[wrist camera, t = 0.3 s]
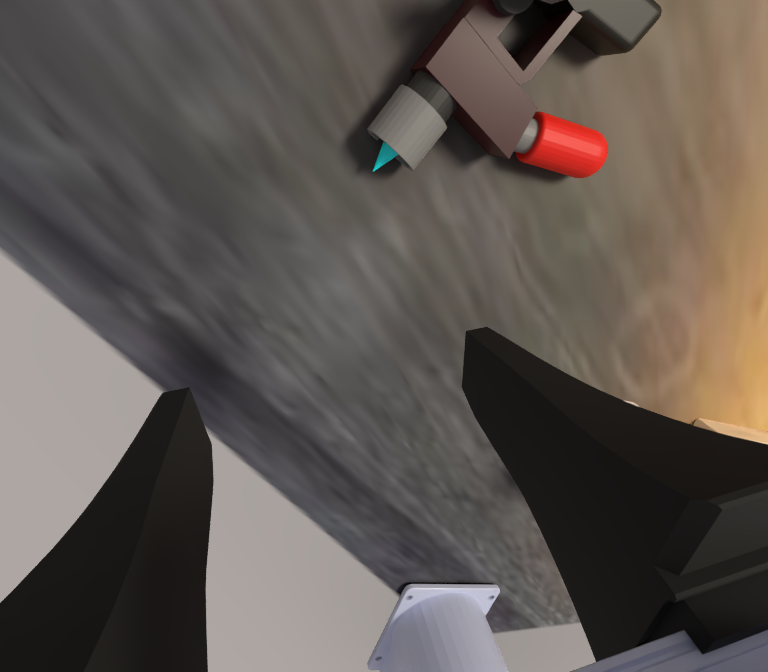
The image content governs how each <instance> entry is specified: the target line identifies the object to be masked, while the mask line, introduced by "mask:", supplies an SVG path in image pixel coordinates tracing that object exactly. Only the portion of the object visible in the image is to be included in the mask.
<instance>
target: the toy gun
mask: <svg viewBox="0 0 768 672" xmlns="http://www.w3.org/2000/svg"><path fill="white" fill-rule="evenodd" d="M534 1H535V3H536V4H537V6H538V7H539V9H540V10H541V11H542V13H543V14H544V16H545V17H546V18H545V19H544V20H543V22H542V23H541V24H540V25H539V27H538V28H537V29H536V30H535V32H534V33H533V34H532V35H531V36H530V38H529V39H528V40H527V41H526V43H525V44H524V45H523V46H522V48H521V49H520V50H519V51H518V53H517V54H516V55H515V56H514V58H512V56H511V55H510V54H509V53H508V51H507V50H506V49H505V48H504V46H503V45H502V44H501V42H500V41H499V40H498V39H497V37H498V36H499V34H500V33H501V32H502V31H503V29H504V28H505V27H506V26H507V24H508V23H509V22H510V20H511V19H512V18H513V17H514V15H515V14H518V13H521V12H523V11H525V10H526V9H527V8H528V7H529V6H530V5H531V4H532V2H533V0H465V1H464V2H463V3H462V5H461V6H460V7H459V9H458V10H457V11H456V12H455V14H454V15H453V16H452V18H451V19H450V20H449V22H448V23H447V24H445V25H444V26H443V28H442V29H441V30H440V32H439V33H438V34H437V36H436V37H435V38H434V40H433V41H432V42H431V43H430V45H429V46H428V47H427V49H426V50H425V51H424V53H423V54H422V55H421V57H420V58H419V59H418V61H417V62H416V63H415V65H414V66H413V67H412V69H411V71H412V72H413V73H414V74H415V75H414V77H413V78H412V79H411V81H410V82H409V83H408V85H407V86H405V85H400V86H399V87H398V89H397V90H396V91H395V93H394V94H393V95H392V97H391V98H390V99H389V101H388V102H387V103H386V105H385V106H384V107H383V109H382V110H381V111H380V113H379V114H378V115H377V116H376V118H375V119H374V120H373V122H372V123H371V124H370V126H369V127H368V128H367V131H368V132H369V133H370V135H371V136H372V137H373V138H375V139H376V140H377V141H378V139H379V138H380V139H382V140H383V141H384V142H383V144H382V147H381V150H380V153H379V155H378V158H377V161H376V164H375V166H374V169H373V171H375V170H376V169H378V168H380V167H381V166H383V165H384V164H386V163H387V162H389V161H390V160H392V159H393V158H396V159H397V160H398V161H399V162H400V163H402V164H403V165H404V166H405V167H407V168H408V169H410V170H412V171H413V170H414V169H415V168H416V167H417V165H418V164H419V163H420V162H421V160H422V159H423V158H424V157H425V155H426V154H427V153H428V152H429V150H430V149H431V148H432V147H433V145H434V144H435V143H436V142H437V140H438V139H439V138H440V137H441V135H442V134H443V133H444V132H445V130H446V129H447V126H446V124H445V123H446V121H447V120H448V119H449V118H450V116H451V115H453V116H454V117H455V118H456V119H457V121H458V122H459V123H460V124H461V125H462V126H463V127H464V128H465V129H466V130H467V131H468V132H469V133H470V135H471V136H472V137H473V138H474V139H475V140H476V141H477V142H478V143H479V144H480V145H481V146H482V148H483V149H484V150H485V151H486V152H487V153H488V154H490V155H494V156H498V157H503V158H507V159H509V158H510V157H511V155H512V153H513V151H515V153H516V157H517V159H518V160H519V161H521V162H524V163H527V164H531V165H534V166H537V167H541V168H544V169H547V170H551V171H554V172H558V173H561V174H564V175H568V176H571V177H575V178H584V177H588V176H590V175H592V174H594V173H596V172H597V171H598V170H599V169H600V168H601V167H602V166H603V164H604V162H605V160H606V158H607V154H608V145H607V142H606V139H605V138H604V136H603V135H602V134H601V133H599V132H598V131H596V130H593V129H590V128H587V127H584V126H581V125H578V124H575V123H572V122H570V121H567V120H564V119H561V118H558V117H555V116H552V115H549V114H546V113H543V112H536V110H537V109H538V108H537V107H536V106H535V104H534V103H533V102H532V101H531V99H530V98H529V97H528V96H527V94H526V93H525V92H524V91H523V89H522V88H521V87H520V86H519V85H520V84H523V83H525V82H528V81H530V79H531V78H532V77H533V76H534V74H535V73H536V72H537V71H538V70H539V68H540V67H541V66H542V65H543V64H544V62H545V61H546V60H547V59H548V57H549V56H550V55H551V54H552V53H553V51H554V50H555V49H556V48H557V47H558V45H559V44H560V43H561V42H562V40H563V39H564V38H565V37H566V36H567V34H568V33H570V34H571V35H573V36H574V37H575V38H577V39H578V40H579V41H581V42H582V43H583V44H585V45H586V46H587V47H588V48H590V49H591V50H592V51H594V52H595V53H597V54H599V55H612V54H620V53H626V52H629V51H630V50H632V49H633V48H634V47H635V46H636V45H637V43H638V42H639V41H640V40H641V39H642V38H643V36H644V35H645V34H646V33H647V32H648V31H649V29H650V28H651V27H652V26H653V25H654V24H655V23H656V21H657V20H658V19H659V17H660V16H661V10H662V9H661V7H660V6H659V5H658V4H657V3H656V2H655V1H654V0H534Z"/></svg>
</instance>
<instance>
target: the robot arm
mask: <svg viewBox="0 0 768 672" xmlns="http://www.w3.org/2000/svg"><path fill="white" fill-rule="evenodd" d="M462 389H463V391H464V393H465V396H466V398H467V400H468V403H469V405H470V407H471V409H472V411H473V413H474V416H475V418H476V419H477V421H478V423H479V424H480V426H481V428H482V429H483V431H484V433H485V434H486V436H487V437H488V439H489V441H490V442H491V444H492V445H493V447H494V449H495V450H496V452H497V453H498V455H499V457H500V458H501V460H502V461H503V463H504V465H505V466H506V468H507V469H508V471H509V473H510V474H511V476H512V477H513V479H514V480H515V482H516V484H517V485H518V487H519V489H520V491H521V492H522V494H523V496H524V498H525V500H526V502H527V504H528V506H529V508H530V510H531V512H532V514H533V516H534V518H535V520H536V522H537V524H538V526H539V528H540V530H541V532H542V535H543V537H544V539H545V541H546V543H547V545H548V548H549V550H550V552H551V554H552V556H553V558H554V560H555V563H556V565H557V567H558V569H559V572H560V574H561V576H562V579H563V581H564V583H565V586H566V588H567V590H568V593H569V595H570V597H571V600H572V602H573V604H574V607H575V609H576V612H577V614H578V617H579V619H580V622H581V624H582V627H583V629H584V631H585V634H586V636H587V639H588V642H589V644H590V647H591V649H592V652H593V655H594V657H595V660H596V662H595V663H593V664H590V665H587V666H585V667H582V668H579V669H576V670H573V671H571V672H768V444H764V443H759V442H755V441H751V440H746V439H742V438H738V437H733V436H729V435H725V434H722V433H718V432H714V431H711V430H707V429H704V428H700V427H697V426H693V425H690V424H687V423H684V422H681V421H677V420H674V419H671V418H668V417H666V416H663V415H660V414H657V413H654V412H651V411H649V410H646V409H643V408H640V407H638V406H635V405H633V404H630V403H628V402H625V401H623V400H621V399H618V398H616V397H614V396H612V395H609V394H607V393H605V392H602V391H600V390H598V389H596V388H594V387H592V386H590V385H588V384H586V383H584V382H582V381H580V380H578V379H576V378H574V377H572V376H570V375H568V374H566V373H564V372H563V371H561V370H559V369H557V368H555V367H554V366H552V365H550V364H548V363H547V362H545V361H543V360H541V359H540V358H538V357H536V356H535V355H533V354H531V353H530V352H528V351H526V350H525V349H523V348H521V347H520V346H518V345H516V344H515V343H513V342H512V341H510V340H508V339H507V338H505V337H503V336H502V335H500V334H498V333H497V332H495V331H493V330H491V329H490V328H488V327H484V328H479V329H474V330H469V331H466V338H465V352H464V365H463V379H462ZM212 461H213V460H212V444H211V441H210V439H209V437H208V434H207V431H206V429H205V426H204V424H203V421H202V419H201V416H200V414H199V411H198V409H197V406H196V403H195V401H194V398H193V396H192V393H191V391H190V388H184V389H179V390H174V391H169V392H164V393H162V395H161V396H160V397H159V399H158V401H157V403H156V404H155V406H154V407H153V409H152V411H151V412H150V414H149V416H148V418H147V419H146V421H145V422H144V424H143V426H142V427H141V429H140V431H139V432H138V434H137V436H136V437H135V439H134V440H133V442H132V443H131V445H130V447H129V448H128V450H127V451H126V453H125V454H124V456H123V457H122V459H121V460H120V462H119V463H118V465H117V466H116V468H115V469H114V471H113V472H112V474H111V475H110V476H109V478H108V479H107V481H106V482H105V483H104V485H103V486H102V488H101V489H100V490H99V492H98V493H97V494H96V496H95V497H94V499H93V500H92V501H91V503H90V504H89V505H88V507H87V508H86V509H85V510H84V512H83V513H82V514H81V515H80V517H79V518H78V519H77V521H76V522H75V523H74V524H73V525H72V527H71V528H70V529H69V530H68V531H67V532H66V534H65V535H64V536H63V537H62V538H61V540H60V541H59V542H58V543H57V544H56V545H55V546H54V548H53V549H52V550H51V551H50V552H49V553H48V554H47V555H46V556H45V557H44V558H43V559H42V560H41V561H40V563H39V564H38V565H37V566H36V567H35V568H34V569H33V570H32V571H31V572H30V573H29V574H28V575H27V576H26V577H25V578H24V579H23V580H22V581H21V583H20V584H19V585H18V586H17V587H16V588H15V589H14V590H13V591H12V592H11V593H10V594H9V595H8V596H7V597H6V598H5V599H4V600H3V601H2V602H1V603H0V672H208V665H207V638H206V591H205V589H206V588H205V587H206V566H207V555H208V542H209V531H210V518H211V506H212V494H213V462H212ZM499 592H500V590H499V587H498V586H497V585H483V584H409V585H407V586H406V587H405V588H404V590H403V592H402V594H401V596H400V598H399V600H398V602H397V604H396V606H395V608H394V610H393V612H392V614H391V616H390V618H389V620H388V622H387V624H386V626H385V628H384V630H383V633H382V634H381V637H380V639H379V640H378V642H377V645H376V647H375V649H374V651H373V653H372V655H371V657H370V659H369V661H368V668H369V669H370V670H380V672H509V670H508V668H507V666H506V664H505V661H504V659H503V657H502V655H501V652H500V650H499V647H498V645H497V643H496V641H495V638H494V636H493V633H492V631H491V629H490V627H489V624H488V622H487V620H486V617H485V616H486V614H487V612H488V611H489V609H490V607H491V606H492V604H493V602H494V601H495V599H496V597H497V596H498V594H499Z"/></svg>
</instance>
